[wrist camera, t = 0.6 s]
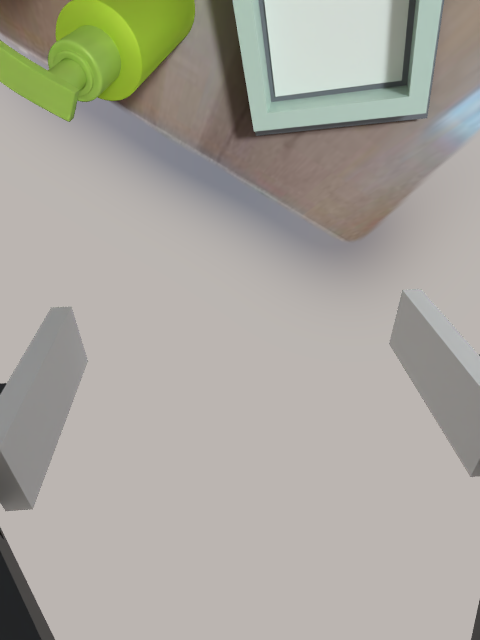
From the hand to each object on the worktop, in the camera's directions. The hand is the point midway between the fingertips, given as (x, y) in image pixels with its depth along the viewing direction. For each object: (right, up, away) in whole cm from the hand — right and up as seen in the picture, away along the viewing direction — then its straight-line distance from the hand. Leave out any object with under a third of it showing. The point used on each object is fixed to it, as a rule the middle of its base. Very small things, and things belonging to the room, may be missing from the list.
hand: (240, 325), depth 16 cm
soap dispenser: (-7, +28, +18) cm, 34 cm away
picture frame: (+8, +26, +16) cm, 31 cm away
